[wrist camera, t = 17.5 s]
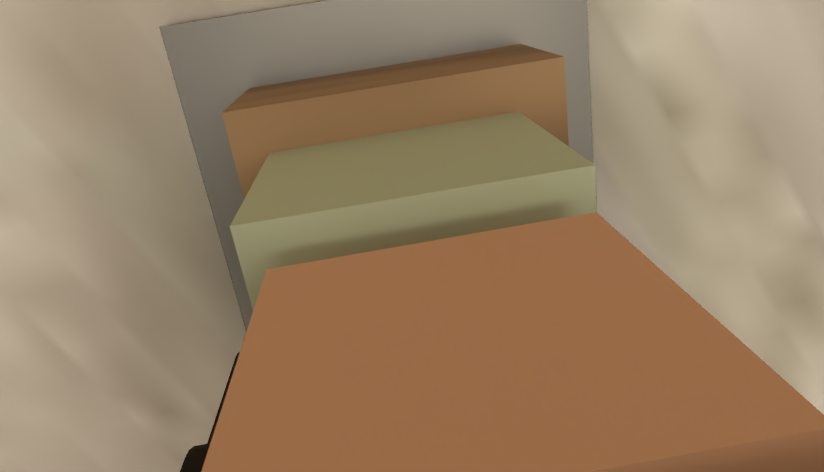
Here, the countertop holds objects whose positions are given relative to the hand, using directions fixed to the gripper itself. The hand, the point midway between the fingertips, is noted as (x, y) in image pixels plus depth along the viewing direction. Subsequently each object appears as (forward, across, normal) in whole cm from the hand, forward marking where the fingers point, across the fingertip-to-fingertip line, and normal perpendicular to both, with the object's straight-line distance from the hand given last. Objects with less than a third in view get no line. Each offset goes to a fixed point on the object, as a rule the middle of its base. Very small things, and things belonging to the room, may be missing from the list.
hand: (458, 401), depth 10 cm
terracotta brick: (0, 0, 0) cm, 0 cm away
